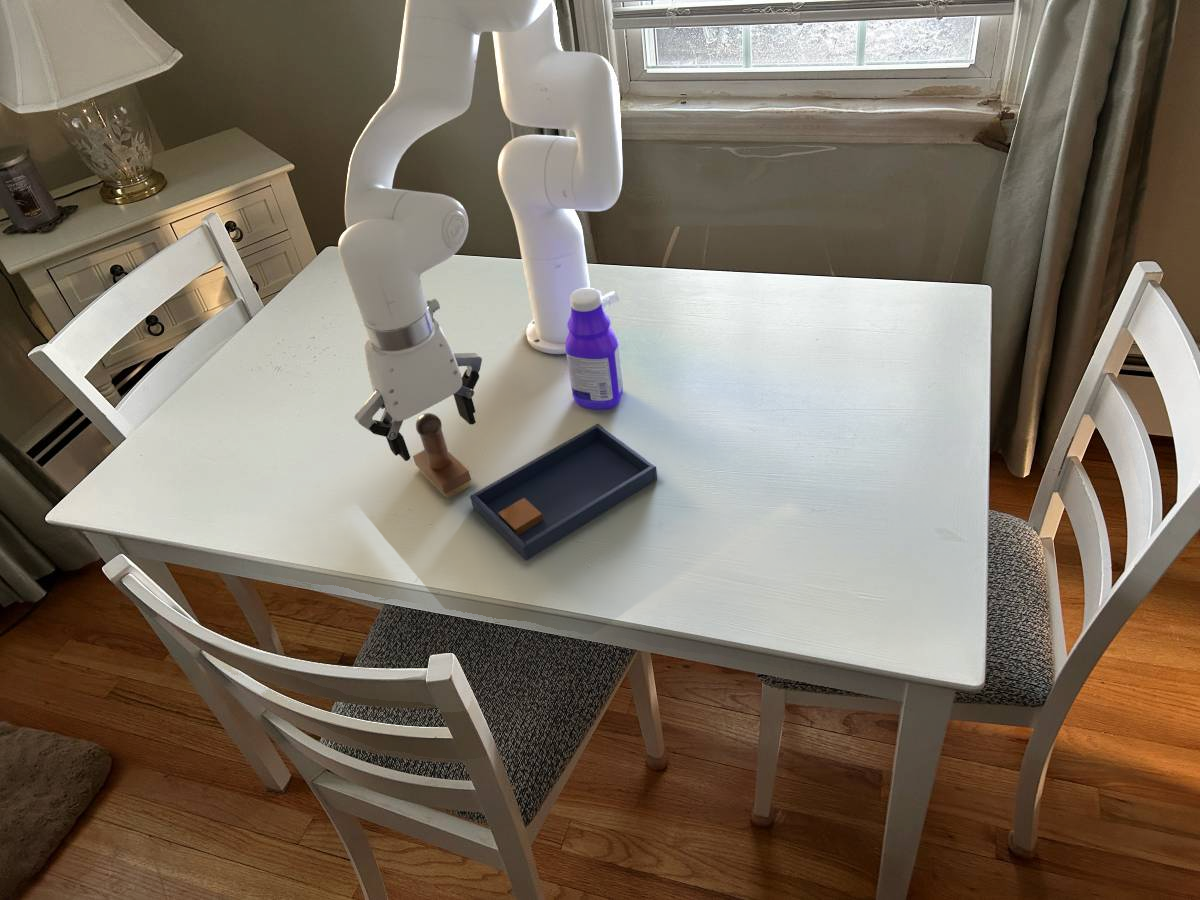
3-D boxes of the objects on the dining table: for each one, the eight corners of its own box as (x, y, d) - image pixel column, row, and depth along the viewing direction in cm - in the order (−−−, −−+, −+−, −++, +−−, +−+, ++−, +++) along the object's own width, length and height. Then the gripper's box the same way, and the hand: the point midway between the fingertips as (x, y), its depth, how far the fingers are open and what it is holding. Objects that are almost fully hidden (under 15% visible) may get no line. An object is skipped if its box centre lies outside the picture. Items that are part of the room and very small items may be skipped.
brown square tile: (525, 504, 114) (524, 497, 113) (543, 520, 111) (542, 513, 110) (499, 519, 112) (497, 512, 111) (516, 536, 110) (515, 529, 109)
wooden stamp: (443, 459, 123) (424, 395, 116) (473, 488, 118) (455, 422, 111) (418, 473, 122) (396, 409, 114) (447, 503, 116) (427, 437, 109)
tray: (600, 438, 123) (597, 423, 121) (657, 482, 115) (656, 466, 113) (474, 511, 115) (469, 495, 113) (526, 563, 107) (522, 547, 105)
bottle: (629, 391, 130) (617, 285, 119) (617, 415, 126) (603, 308, 115) (582, 386, 132) (565, 281, 121) (569, 409, 128) (550, 304, 117)
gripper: (447, 284, 110) (477, 393, 122) (318, 345, 104) (363, 455, 115) (479, 306, 106) (507, 418, 117) (346, 372, 99) (389, 484, 110)
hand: (436, 437), depth 116 cm, fingers open, 9 cm apart
